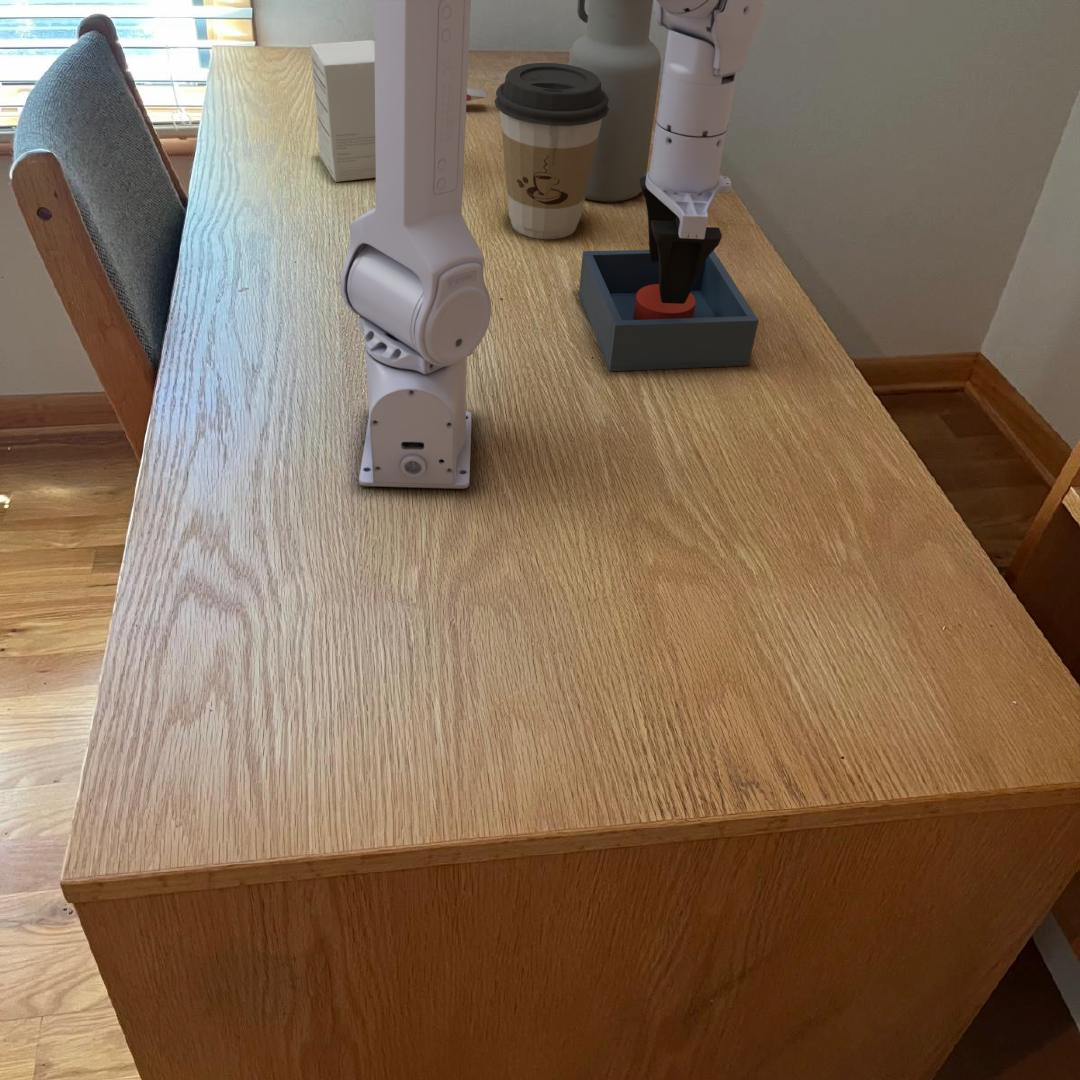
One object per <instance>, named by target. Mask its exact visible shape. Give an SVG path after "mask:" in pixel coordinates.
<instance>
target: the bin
mask: <svg viewBox="0 0 1080 1080" xmlns="http://www.w3.org/2000/svg"><path fill="white" fill-rule="evenodd" d="M714 250H715V249H714ZM714 250H713V251H712V253H711V254H710V255H709V256H708V258H707V259H706V261H705V262H704V264H703V265H702V267H701V269H700V271H699V273H698V275H697V277H696V280H695V282H694V284H693V287H692V289H691V292H690V293H691V294H692V295H693V296H694V297H695V299H696V305H695V311H694V316H693V318H680V319H651V320H633V315H634V307H635V300H636V294H637V292H638V291H639V290H640V289H641V288H643V287H645V286H648V285H653V284H659V262H652V261H651V257H650V250H649V249H620V250H617V249H616V250H614V249H613V250H583V251H582V256H581V265H580V266H581V267H580V277H579V288H578V297H579V299H580V301H581V304H582V306H583V309H584V312H585V314H586V316H587V319H588V321H589V324H590V326H591V329H592V331H593V334H594V336H595V339H596V341H597V344H598V346H599V348H600V351H601V353H602V355H603V359H604V361H605V363H606V366H607V368H608V370H609V372H626V371H627V372H628V371H630V372H631V371H654V370H674V369H697V368H721V367H723V368H725V367H745V366H747V367H749V365H750V361H751V358H752V357H751V356H752V353H753V352H752V351H753V347H754V344H755V339H756V333H757V329H758V325H759V321H760V320H759V318H758V317H757V316H756V314H755V312H754V310H753V309H752V307H751V306H750V304H749V303H748V302H747V300H746V298H745V297H744V296H743V294H742V292H741V290H740V289H739V287H738V286H737V284H736V283H735V281H734V279H733V278H732V277H731V275H730V274H729V272H728V271H727V269H726V267H725V266H724V264H723V263H722V261H721V259H720V258H719V256H718V255H717V253H716V252H715V251H714Z"/></svg>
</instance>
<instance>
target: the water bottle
mask: <svg viewBox="0 0 1080 1080" xmlns="http://www.w3.org/2000/svg"><path fill="white" fill-rule="evenodd" d="M585 7H586V0H577V9H576V11H577V17H578V18H579V19H580V20H581V21H582V22H583V23H585V24H586V32H585V33H584V34H583V35H582V36H580V37H578V38H577V39H576V40H575V41H574V43H572V45H571V47H570V49H569V56H568V65H571V66H576V67H580V68H583V69H585V70H588V71H591V72H592V73H594V74H595V75H596V76H598V77H599V79H600V81H601V90H603V91H604V92H605V93H606V95H607V97H608V99H609V102H608V108H609V111H608V114H607V116H605V117H603V118H602V122H601V126H600V131H599V135H598V140H597V144H596V149H595V153H594V158H593V162H592V167H591V172H590V176H589V181H588V185H587V190H586V194H585V199H584V200H590V201H594V202H603V203H615V202H622V201H627V200H630V199H632V198H634V197H636V196H638V195H639V194H640V193H641V192H643V191H642V189H641V186H640V182H639V180H640V178H642V177H644V176H646V175H647V172H648V165H649V159H650V151H651V150H650V149H651V143H652V135H653V127H654V120H655V112H656V104H657V97H658V91H659V90H658V89H659V83H660V76H661V75H660V74H661V67H662V58H661V52H660V51H659V49H658V47H657V46H656V45H655V43H654V42H652V41H651V39H650V31H651V21H652V14H653V7H654V0H588V8H587V9H588V10H587V12H586V8H585Z"/></svg>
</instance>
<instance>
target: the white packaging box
mask: <svg viewBox="0 0 1080 1080" xmlns="http://www.w3.org/2000/svg"><path fill="white" fill-rule="evenodd" d="M309 49H310V50H309V51H310V59H311V69H312V80H313V91H314V100H315V101H314V102H315V113H316V125H317V137H318V149H319V156H320V159H321V161H322V163H323V164H324V166H325V168H326V169H327V171H328V172H329V174H330V176H331V177H332V179H333V181H334V182H335V183H339V182H346V181H347V182H348V181H356V180H365V179H366V180H367V179H376V151H375V52H374V40H373V39H368V40H367V39H366V40H355V41H338V42H323V43H310V44H309Z"/></svg>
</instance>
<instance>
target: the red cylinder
mask: <svg viewBox="0 0 1080 1080" xmlns="http://www.w3.org/2000/svg"><path fill="white" fill-rule="evenodd" d="M695 305H696V299H695V297H694V296H693V295H692V294H691V293H690V294H689V296H688V298H687V300H686V302H685V303H684V304H676V303H662V302H661V298H660V291H659V284H653V285H648V286H645V287H643V288H641V289H640V290H639V291H638V292H637V294H636V300H635V307H634V315H633V320H651V319H680V318H693V316H694V311H695Z"/></svg>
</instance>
